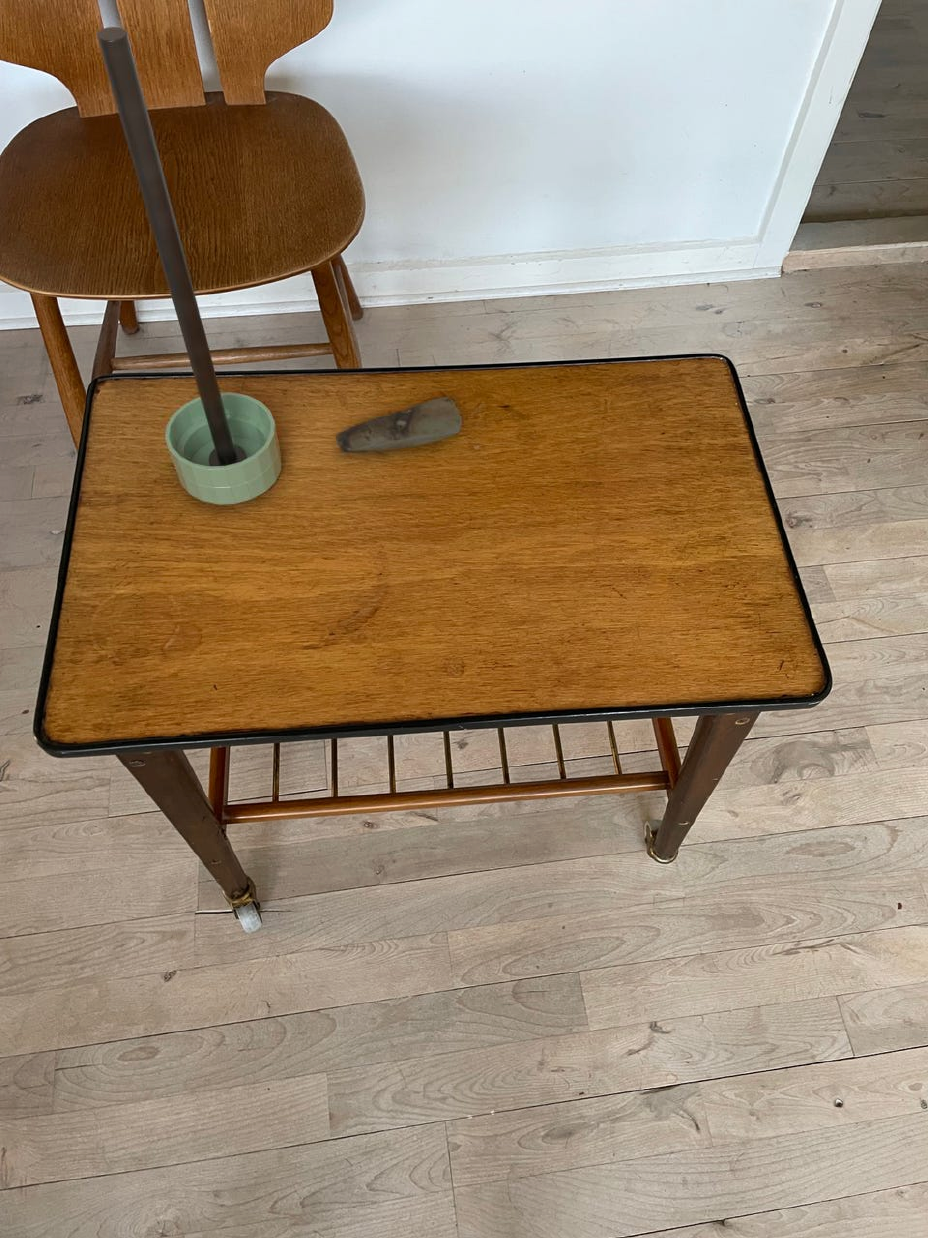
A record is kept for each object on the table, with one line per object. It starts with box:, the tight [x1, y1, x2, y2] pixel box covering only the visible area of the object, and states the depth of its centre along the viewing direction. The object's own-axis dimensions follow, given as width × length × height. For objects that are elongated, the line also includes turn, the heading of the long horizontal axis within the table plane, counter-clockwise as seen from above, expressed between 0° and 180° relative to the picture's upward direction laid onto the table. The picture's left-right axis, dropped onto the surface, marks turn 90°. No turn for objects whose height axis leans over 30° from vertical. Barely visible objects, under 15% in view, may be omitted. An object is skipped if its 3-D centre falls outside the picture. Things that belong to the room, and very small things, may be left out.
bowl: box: [164, 391, 283, 506], centre depth 82 cm, size 10×10×6 cm
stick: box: [96, 26, 247, 466], centre depth 68 cm, size 4×4×38 cm
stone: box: [335, 396, 463, 454], centre depth 86 cm, size 13×5×2 cm, turn 112°
